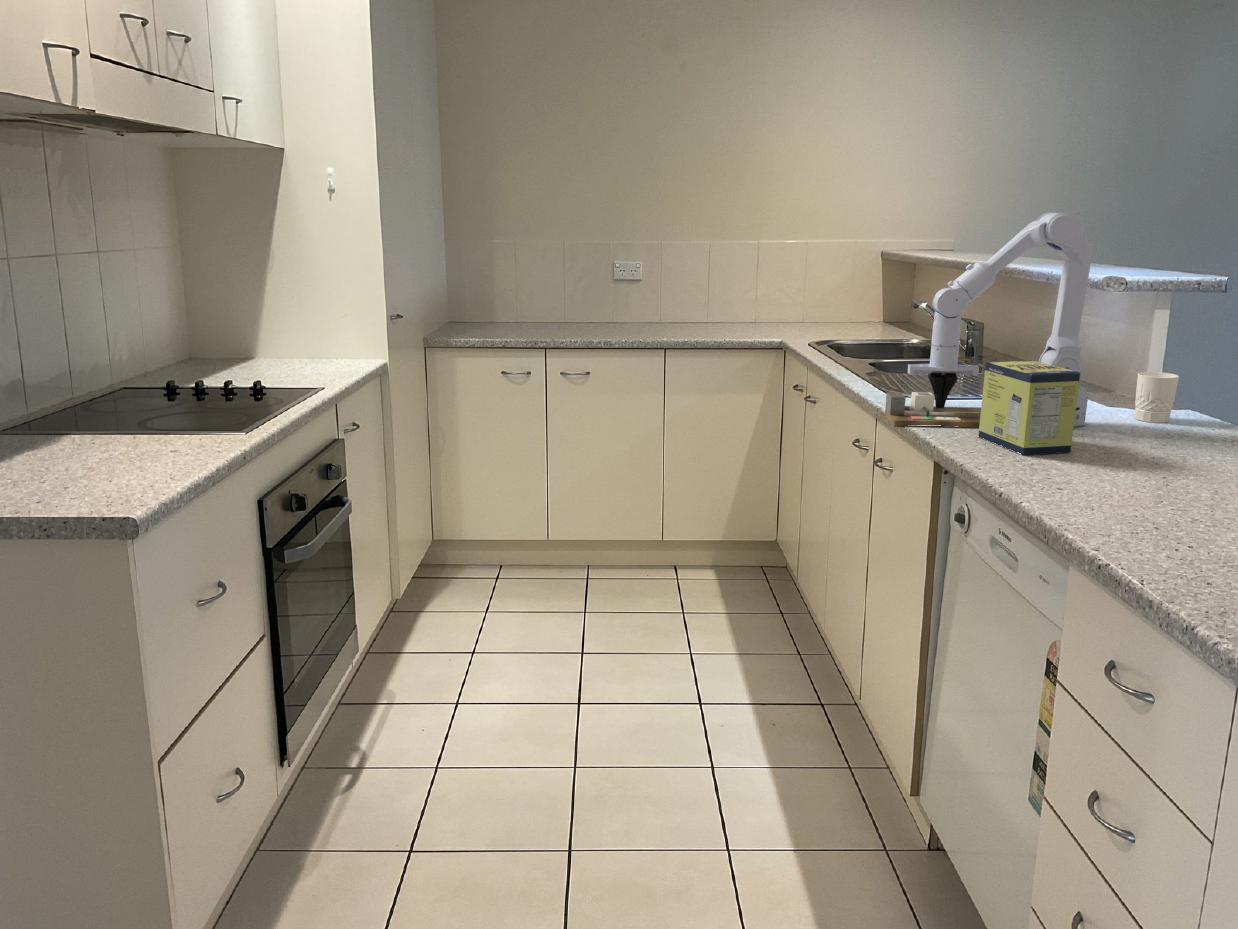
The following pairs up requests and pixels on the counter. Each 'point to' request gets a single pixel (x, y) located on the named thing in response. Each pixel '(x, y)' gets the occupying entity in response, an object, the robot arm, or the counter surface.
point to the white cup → (1155, 396)
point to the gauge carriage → (922, 402)
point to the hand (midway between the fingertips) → (939, 407)
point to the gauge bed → (933, 421)
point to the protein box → (1029, 406)
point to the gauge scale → (935, 418)
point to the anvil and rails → (897, 407)
